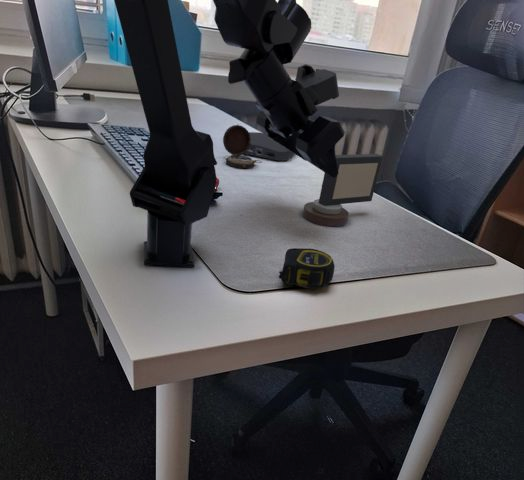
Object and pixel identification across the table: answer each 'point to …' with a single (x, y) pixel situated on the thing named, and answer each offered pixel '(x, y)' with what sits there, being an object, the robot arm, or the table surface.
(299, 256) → the tape measure
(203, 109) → the table surface
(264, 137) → the media streaming box
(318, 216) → the swivel stand
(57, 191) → the table surface
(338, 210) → the frame
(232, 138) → the compass
